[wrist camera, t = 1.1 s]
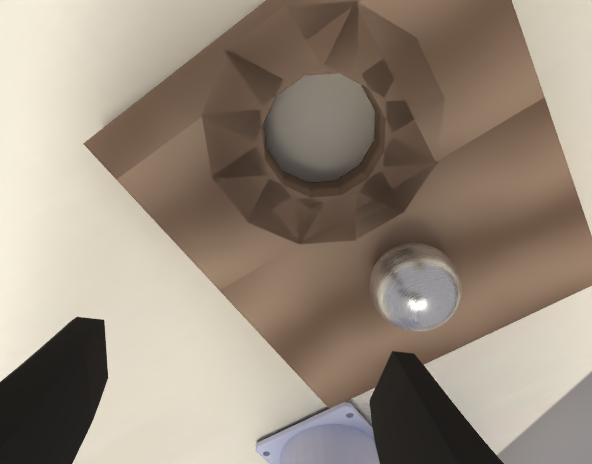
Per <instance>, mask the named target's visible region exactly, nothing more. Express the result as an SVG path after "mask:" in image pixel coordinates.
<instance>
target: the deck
mask: <svg viewBox="0 0 592 464" xmlns="http://www.w3.org/2000/svg"><path fill="white" fill-rule="evenodd" d="M330 73H341V74H343V75H345V76H346V77H348V78H350V79H352V80H354V81H356V82H357V83H359V84H361V85H362V87H363V89H364V91H365V93H366V95H367V96H368V98H369V100H370V102H371V104H372V106H373V107H374V109H375V135H374V142H373V144H372V145H371V147H370V149H369V150H368V152H367V154H366V156H365V157H364V159H363V161H362V162H361V164H360V166H358V167H357V168H355V169H354V170H352V171H350V172H349V173H347V174H346V175H344V176H342V177H341V178H339V179H338V180H336V181H326V182H311V183H307V182H305V181H303V180H301V179H299V178H297V177H294V176H292V175H290V174H288V173H286V172H284V171H282V169H281V168H280V166H279V165H278V164H277V162H276V161H275V159H274V158H273V157H272V155H271V154H270V152H269V151H268V149H267V148H266V139H265V128H264V121H265V118H266V116H267V114H268V112H269V110H270V107H271V105H272V103H273V101H274V99H275V96H276V95H278V94H279V93H280V92H282V91H283V90H285V89H286V88H287V87H289V86H290V85H292V84H293V83H294V82H296V81H297V80H299V79H300V78H302V77H303V76H304V75H315V74H330ZM84 145H85V146H86V147H87V148H88V149H89V150H90V152H91V153H92V154H93V155H94V156H95V157H96V158H97V159H98V160H99V161H100V162H101V163H102V164H103V166H104V167H105V168H106V169H107V170H108V171H109V172H110V173H111V174H112V175H113V176H114V177H115V178H116V180H117V181H118V182H119V183H120V184H121V185H122V186H123V187H124V188H125V189H126V190H127V191H128V192H129V194H130V195H131V196H132V197H133V198H134V199H135V200H136V201H137V202H138V203H139V204H140V205H141V206H142V208H143V209H144V210H145V211H146V212H147V213H148V214H149V215H150V216H151V217H152V218H153V219H154V220H155V222H156V223H157V224H158V225H159V226H160V227H161V228H162V229H163V230H164V231H165V232H166V233H167V234H168V235H169V237H170V238H171V239H172V240H173V241H174V242H175V243H176V244H177V245H178V246H179V247H180V248H181V249H182V251H183V252H184V253H185V254H186V255H187V256H188V257H189V258H190V259H191V260H192V261H193V262H194V263H195V265H196V266H197V267H198V268H199V269H200V270H201V271H202V272H203V273H204V274H205V275H206V276H207V277H208V279H209V280H210V281H211V282H212V283H213V284H214V285H215V286H216V287H217V288H218V289H219V290H220V291H221V293H222V294H223V295H224V296H225V297H226V298H227V299H228V300H229V301H230V302H231V303H232V304H233V305H234V307H235V308H236V309H237V310H238V311H239V312H240V313H241V314H242V315H243V316H244V317H245V318H246V319H247V320H248V322H249V323H250V324H251V325H252V326H253V327H254V328H255V329H256V330H257V331H258V332H259V333H260V334H261V336H262V337H263V338H264V339H265V340H266V341H267V342H268V343H269V344H270V345H271V346H272V347H273V348H274V350H275V351H276V352H277V353H278V354H279V355H280V356H281V357H282V358H283V359H284V360H285V361H286V362H287V364H288V365H289V366H290V367H291V368H292V369H293V370H294V371H295V372H296V373H297V374H298V375H299V376H300V378H301V379H302V380H303V381H304V382H305V383H306V384H307V385H308V386H309V387H310V388H311V389H312V390H313V392H314V393H315V394H316V395H317V396H318V397H319V398H320V399H321V400H322V401H323V402H324V403H325V404H326V405H327V407H328V408H329V409H330V408H332V407H334V406H336V405H339V404H341V403H343V402H345V401H347V400H349V399H351V398H353V397H356V396H358V395H360V394H362V393H364V392H366V391H368V390H371V389H373V388H375V387H376V386H377V383H378V381H379V379H380V377H381V375H382V372H383V370H384V368H385V366H386V364H387V361H388V359H389V357H390V355H391V353H392V351H396V352H406V353H414V354H415V355H416V356H417V358H418V359H419V360H420V361H421V363H422V364H423V365H424V364H426V363H428V362H430V361H432V360H434V359H436V358H439V357H441V356H443V355H445V354H447V353H449V352H451V351H453V350H456V349H458V348H460V347H462V346H464V345H466V344H468V343H470V342H473V341H475V340H477V339H479V338H481V337H483V336H485V335H488V334H490V333H492V332H494V331H496V330H498V329H500V328H502V327H505V326H507V325H509V324H511V323H513V322H515V321H517V320H519V319H522V318H524V317H526V316H528V315H530V314H532V313H534V312H536V311H539V310H541V309H543V308H545V307H547V306H549V305H551V304H553V303H556V302H558V301H560V300H562V299H564V298H566V297H568V296H570V295H573V294H575V293H577V292H579V291H581V290H583V289H585V288H587V287H590V286H592V236H591V233H590V230H589V227H588V224H587V221H586V218H585V215H584V212H583V209H582V206H581V204H580V201H579V198H578V195H577V192H576V189H575V186H574V183H573V180H572V177H571V174H570V171H569V168H568V165H567V162H566V159H565V156H564V154H563V151H562V148H561V145H560V142H559V139H558V136H557V133H556V130H555V127H554V124H553V121H552V118H551V115H550V112H549V109H548V106H547V104H546V101H545V98H544V95H543V92H542V89H541V86H540V83H539V80H538V77H537V74H536V71H535V68H534V65H533V62H532V59H531V56H530V54H529V51H528V48H527V45H526V42H525V39H524V36H523V33H522V30H521V27H520V24H519V21H518V18H517V15H516V12H515V9H514V6H513V4H512V1H511V0H267V1H265V2H264V3H263V4H261V5H260V6H259V7H258V8H256V9H255V10H254V11H252V12H251V13H250V14H249V15H247V16H246V17H245V18H244V19H242V20H241V21H240V22H238V23H237V24H236V25H235V26H233V27H232V28H231V29H229V30H228V31H227V32H226V33H224V34H223V35H222V36H220V37H219V38H218V39H217V40H215V41H214V42H213V43H212V44H210V45H209V46H208V47H206V48H205V49H204V50H203V51H201V52H200V53H199V54H197V55H196V56H195V57H194V58H192V59H191V60H190V61H189V62H187V63H186V64H185V65H183V66H182V67H181V68H180V69H178V70H177V71H176V72H174V73H173V74H172V75H171V76H169V77H168V78H167V79H165V80H164V81H163V82H162V83H160V84H159V85H158V86H157V87H155V88H154V89H153V90H151V91H150V92H149V93H148V94H146V95H145V96H144V97H142V98H141V99H140V100H139V101H137V102H136V103H135V104H134V105H132V106H131V107H130V108H128V109H127V110H126V111H125V112H123V113H122V114H121V115H119V116H118V117H117V118H116V119H114V120H113V121H112V122H110V123H109V124H108V125H107V126H105V127H104V128H103V129H102V130H100V131H99V132H98V133H96V134H95V135H94V136H93V137H91V138H90V139H89V140H87V141H86V142H85V143H84ZM405 243H422V244H427V245H430V246H432V247H435V248H437V249H438V250H440V251H442V252H443V253H444V254H445V255H447V256H448V257H449V259H450V260H451V261H452V262H453V263H454V265H455V267H456V268H457V270H458V272H459V275H460V279H461V285H462V293H461V299H460V303H459V305H458V308H457V310H456V311H455V313H454V314H453V315H452V317H451V318H450V319H449V320H448V321H447V322H445V323H444V324H443V325H441V326H439V327H437V328H435V329H432V330H428V331H422V332H413V331H407V330H403V329H400V328H398V327H396V326H394V325H392V324H391V323H389V322H388V321H387V320H386V319H384V318H383V317H382V316H381V314H380V313H379V312H378V311H377V309H376V307H375V305H374V303H373V301H372V298H371V294H370V277H371V273H372V270H373V268H374V266H375V264H376V262H377V261H378V260H379V258H380V257H381V256H382V255H383V254H384V253H385V252H387V251H388V250H390V249H391V248H393V247H395V246H398V245H401V244H405Z"/></svg>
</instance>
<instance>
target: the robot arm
mask: <svg viewBox="0 0 592 464" xmlns="http://www.w3.org/2000/svg"><path fill="white" fill-rule="evenodd" d="M107 379H108V370H107V355H106V340H105V326H104V320H100V319H91V318H81V317H76V318H75V319H73V320H72V321H71V322H70V323H68V324H67V325H66V326H65V327H64V328H63V329H62V330H61V331H59V332H58V333H57V334H56V335H55V336H54V337H53V338H51V339H50V340H49V341H48V342H47V343H46V344H45V345H43V346H42V347H41V348H40V349H39V350H38V351H37V352H35V353H34V354H33V355H32V356H31V357H30V358H28V359H27V360H26V361H25V362H24V363H23V364H21V365H20V366H19V367H18V368H17V369H15V370H14V371H13V372H12V373H11V374H9V375H8V376H7V377H6V378H4V379H3V380H2V381H1V382H0V464H72V463H73V461H74V459H75V457H76V455H77V453H78V450H79V448H80V446H81V444H82V442H83V440H84V438H85V436H86V434H87V432H88V430H89V428H90V425H91V423H92V421H93V419H94V416H95V413H96V410H97V408H98V405H99V402H100V399H101V397H102V394H103V391H104V388H105V385H106V382H107ZM370 409H371V418H372V426H373V428H372V427H371V425H370V424H369V423H368V422H367V421H366V420H365V419H364V417H363V416H362V415H361V414H360V413H359V412H358V411H357V410H356V408H355V407H354V406H353V405H352V404H351V403H349V402H343V403H341V404H339V405H336V406H334V407H332V408H330V409H328V410H326V411H324V412H321V413H319V414H317V415H315V416H313V417H311V418H309V419H307V420H304V421H302V422H300V423H298V424H296V425H294V426H292V427H289V428H287V429H285V430H283V431H281V432H279V433H277V434H275V435H272V436H270V437H268V438H266V439H264V440H262V441H260V442H258V443H257V444H256V452H257V453H259V454H260V455H261V456H262V457H263V458H264V459H265V460H267V461H268V462H269V463H270V464H504V463H503V462H502V461H501V460H500V459H499V458H498V457H497V456H496V454H495V453H494V452H493V451H492V450H491V449H490V447H489V446H488V445H487V444H486V443H485V442H484V440H483V439H482V438H481V437H480V436H479V434H478V433H477V432H476V431H475V430H474V428H473V427H472V426H471V425H470V423H469V422H468V421H467V420H466V419H465V417H464V416H463V415H462V414H461V412H460V411H459V410H458V409H457V407H456V406H455V405H454V404H453V402H452V401H451V400H450V398H449V397H448V396H447V395H446V393H445V392H444V391H443V390H442V388H441V387H440V386H439V384H438V383H437V382H436V381H435V379H434V378H433V377H432V375H431V374H430V373H429V372H428V370H427V369H426V368H425V366H424V365H423V364H422V363H421V361H420V360H419V359H418V358H417V356H416V355H415V354H414V353H406V352H396V351H392V353H391V355H390V357H389V359H388V361H387V364H386V366H385V368H384V370H383V372H382V375H381V377H380V379H379V381H378V383H377V386H376V388H375V390H374V392H373V394H372V397H371V399H370Z"/></svg>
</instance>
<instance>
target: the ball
mask: <svg viewBox="0 0 592 464" xmlns="http://www.w3.org/2000/svg"><path fill="white" fill-rule="evenodd" d="M461 293H462V285H461V279H460V275H459V272H458V270H457V268H456V267H455V265H454V263H453V262H452V261H451V260H450V259H449V257H448V256H447V255H445V254H444V253H443V252H442V251H440V250H438V249H437V248H435V247H432V246H430V245H427V244H422V243H405V244H401V245H398V246H395V247H393V248H391V249H390V250H388V251H387V252H385V253H384V254H383V255H382V256H381V257H380V258H379V260H378V261H377V262H376V264H375V266H374V268H373V270H372V273H371V277H370V294H371V298H372V301H373V303H374V305H375V307H376V309H377V311H378V312H379V313H380V314H381V316H382V317H383V318H384V319H386V320H387V321H388V322H389V323H391V324H392V325H394V326H396V327H398V328H400V329H403V330H407V331H413V332H422V331H428V330H432V329H435V328H437V327H439V326H441V325H443V324H444V323H445V322H447V321H448V320H449V319H450V318H451V317H452V315H453V314H454V313H455V311H456V310H457V308H458V305H459V303H460V299H461Z"/></svg>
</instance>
